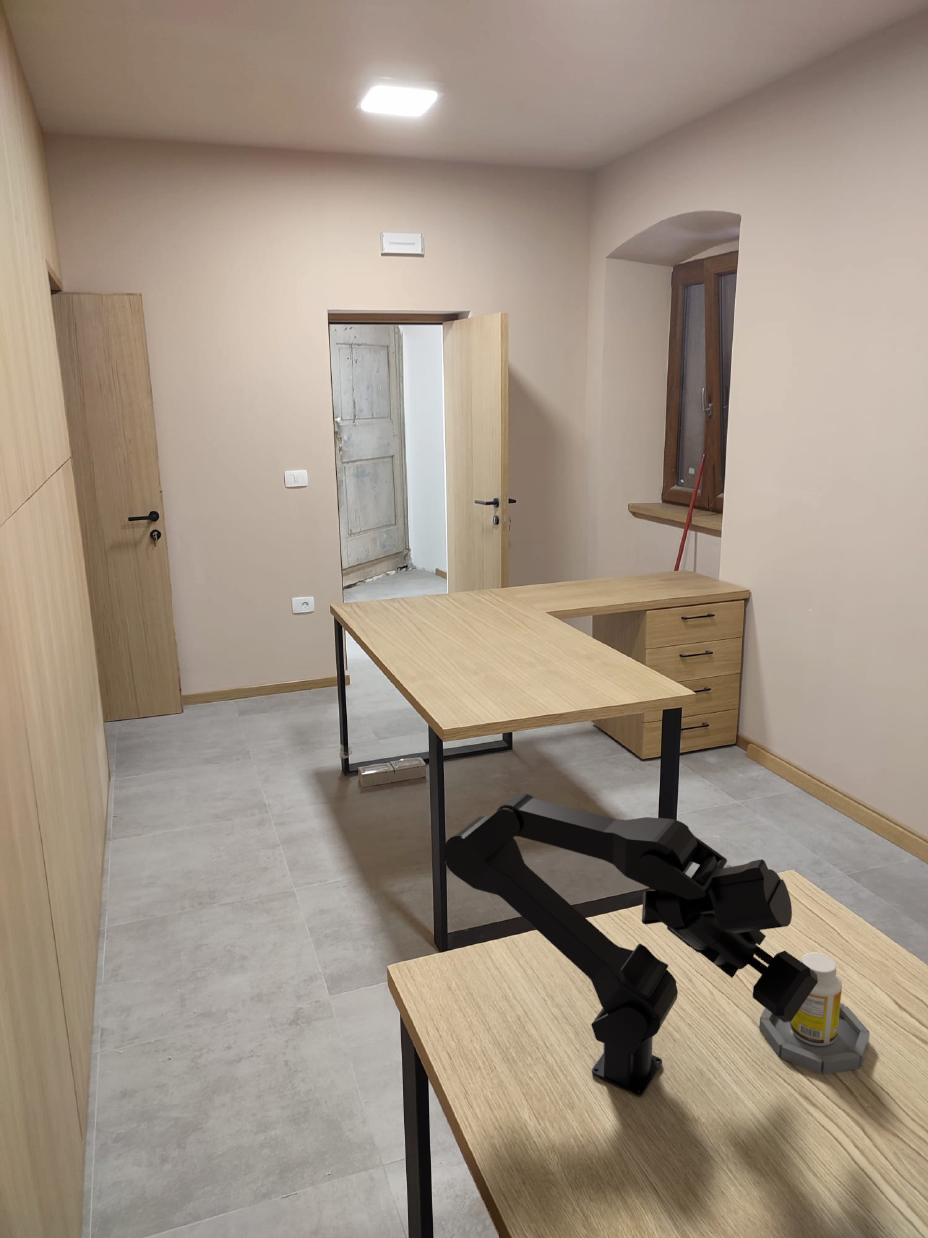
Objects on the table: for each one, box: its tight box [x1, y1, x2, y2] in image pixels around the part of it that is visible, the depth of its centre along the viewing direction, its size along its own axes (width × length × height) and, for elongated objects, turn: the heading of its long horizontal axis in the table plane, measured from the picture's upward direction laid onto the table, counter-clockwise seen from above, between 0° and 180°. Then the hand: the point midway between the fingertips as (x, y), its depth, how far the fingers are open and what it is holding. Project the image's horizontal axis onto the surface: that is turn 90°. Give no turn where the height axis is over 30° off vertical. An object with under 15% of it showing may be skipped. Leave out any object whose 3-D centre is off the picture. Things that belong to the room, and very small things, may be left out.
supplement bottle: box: [790, 951, 843, 1046], centre depth 107 cm, size 6×6×10 cm
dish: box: [758, 1002, 871, 1075], centre depth 108 cm, size 12×12×2 cm
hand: (771, 979), depth 103 cm, fingers open, 9 cm apart
